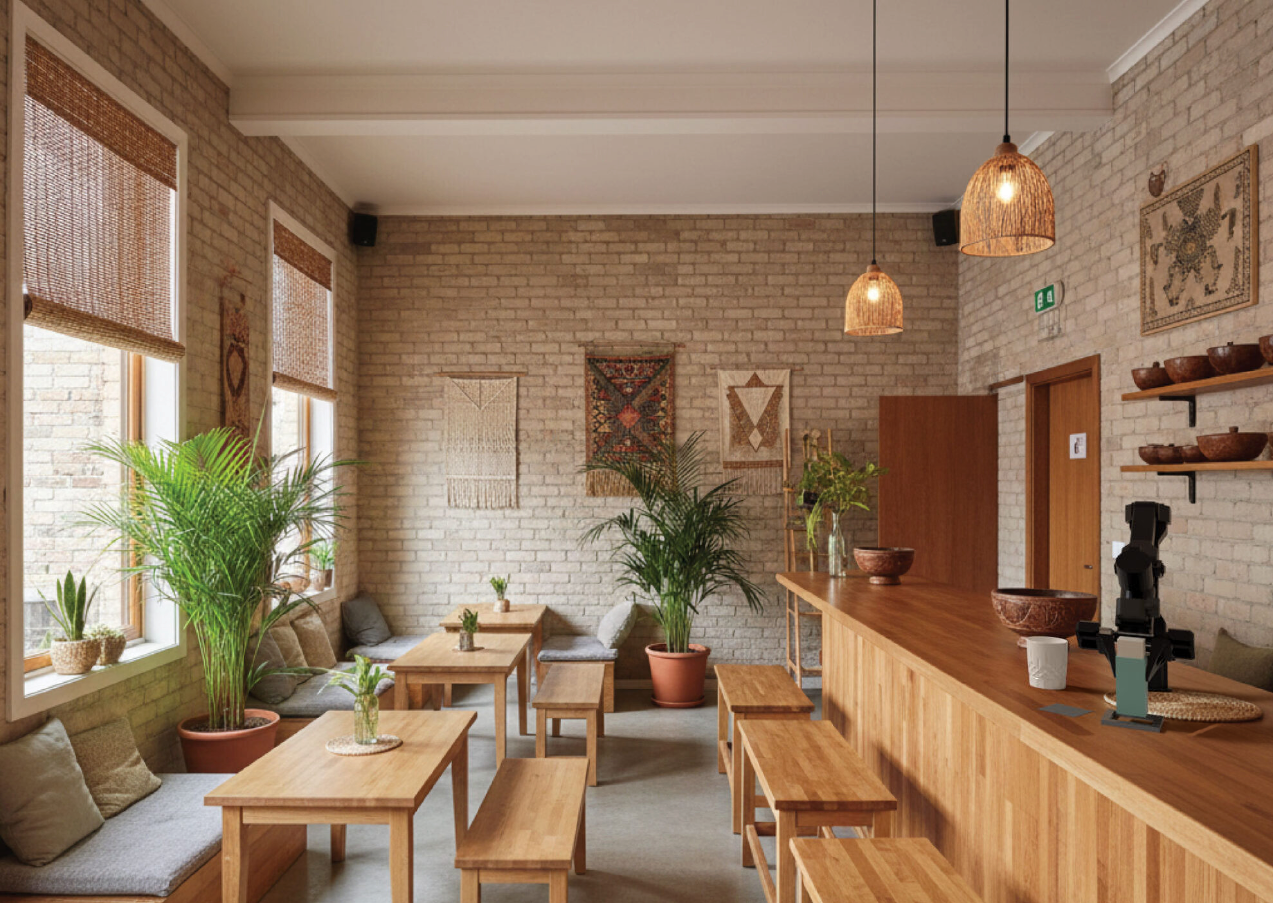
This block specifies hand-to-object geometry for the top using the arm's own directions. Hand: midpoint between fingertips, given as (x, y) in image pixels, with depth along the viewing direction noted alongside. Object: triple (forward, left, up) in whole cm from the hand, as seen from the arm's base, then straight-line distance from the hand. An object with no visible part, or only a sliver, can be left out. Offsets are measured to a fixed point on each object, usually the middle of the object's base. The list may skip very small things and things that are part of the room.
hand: (1130, 678), depth 155 cm
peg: (-1, -1, -6) cm, 6 cm away
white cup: (+5, -28, -9) cm, 30 cm away
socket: (-1, -1, -8) cm, 9 cm away
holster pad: (+8, -8, -8) cm, 14 cm away
